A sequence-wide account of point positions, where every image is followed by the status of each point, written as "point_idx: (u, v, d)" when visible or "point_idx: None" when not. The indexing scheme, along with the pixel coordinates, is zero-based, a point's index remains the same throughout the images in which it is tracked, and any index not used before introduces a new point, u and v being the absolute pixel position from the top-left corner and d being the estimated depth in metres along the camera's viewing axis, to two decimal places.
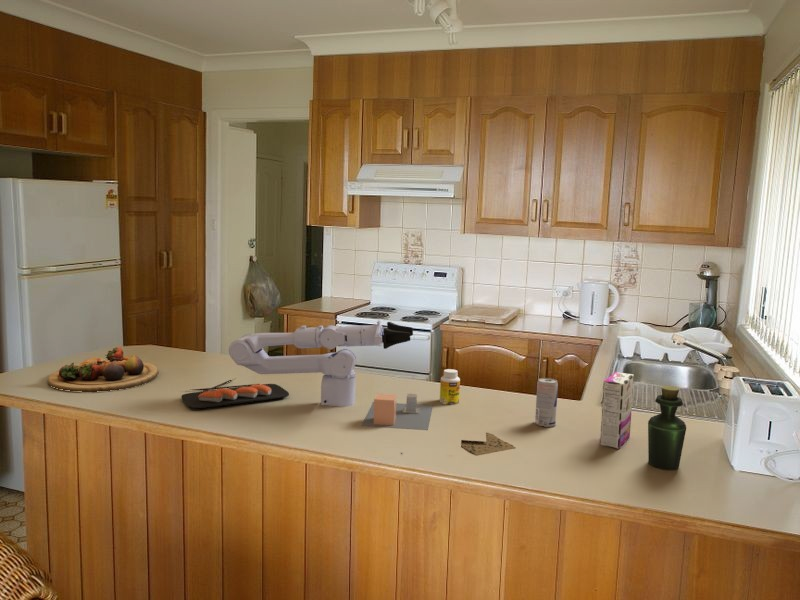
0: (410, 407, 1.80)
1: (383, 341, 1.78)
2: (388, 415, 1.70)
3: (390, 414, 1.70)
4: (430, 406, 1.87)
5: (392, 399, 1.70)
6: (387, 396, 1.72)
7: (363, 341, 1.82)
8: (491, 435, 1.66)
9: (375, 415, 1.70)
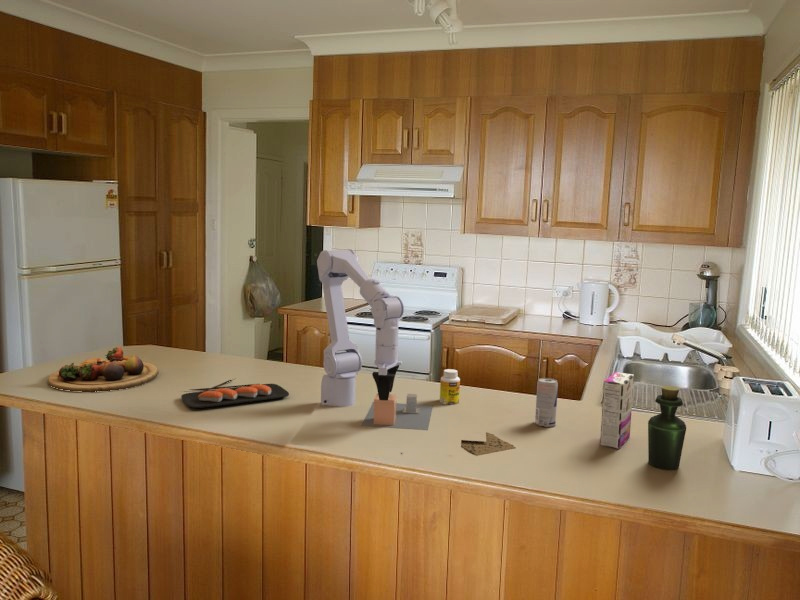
0: (410, 407, 1.80)
1: (380, 375, 1.65)
2: (388, 415, 1.70)
3: (390, 414, 1.70)
4: (430, 406, 1.87)
5: (392, 399, 1.70)
6: None
7: (381, 348, 1.67)
8: (491, 435, 1.66)
9: (375, 415, 1.70)
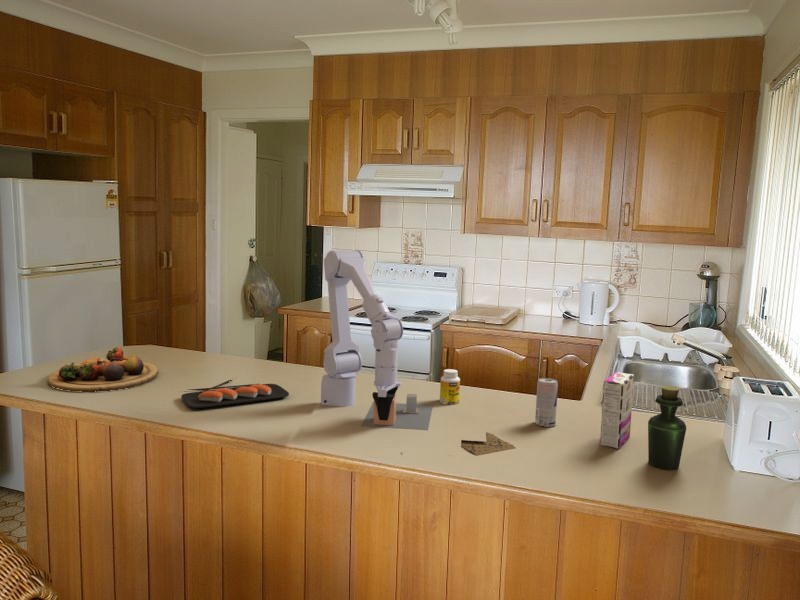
0: (410, 407, 1.80)
1: None
2: None
3: (390, 414, 1.70)
4: (430, 406, 1.87)
5: None
6: None
7: (380, 369, 1.68)
8: (491, 435, 1.66)
9: (375, 415, 1.70)
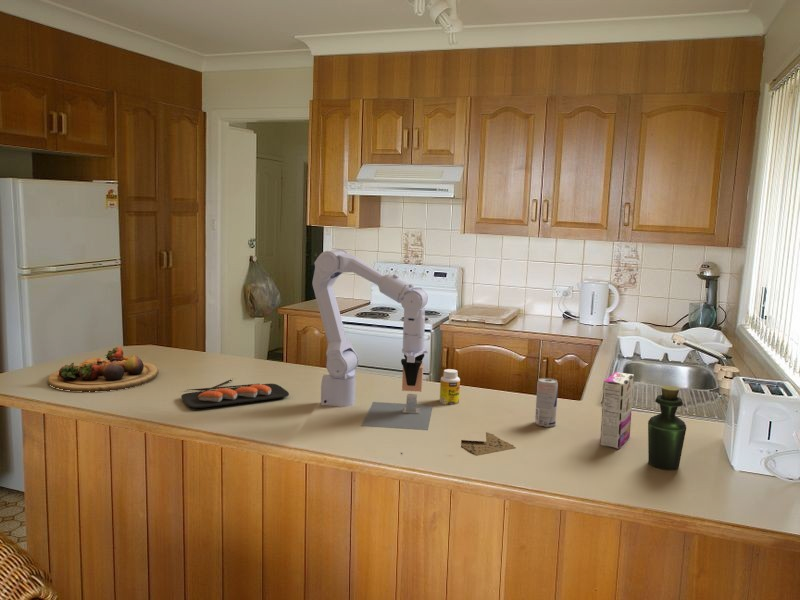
0: (410, 407, 1.80)
1: (409, 361, 1.75)
2: (416, 382, 1.78)
3: (418, 381, 1.78)
4: (430, 406, 1.87)
5: (420, 366, 1.78)
6: None
7: (408, 337, 1.76)
8: (491, 435, 1.66)
9: (404, 382, 1.78)
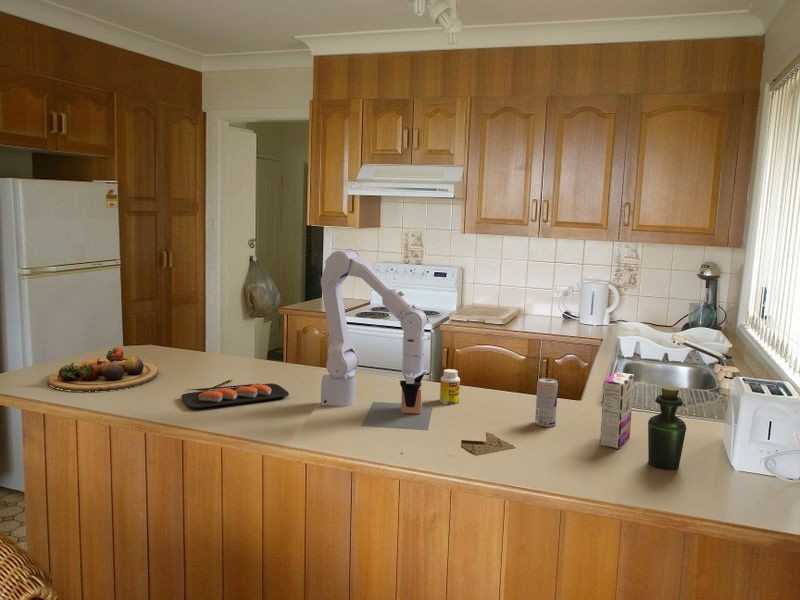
0: None
1: None
2: (415, 404, 1.79)
3: (417, 403, 1.79)
4: (430, 406, 1.87)
5: (419, 389, 1.79)
6: None
7: (408, 358, 1.77)
8: (491, 435, 1.66)
9: (403, 404, 1.79)
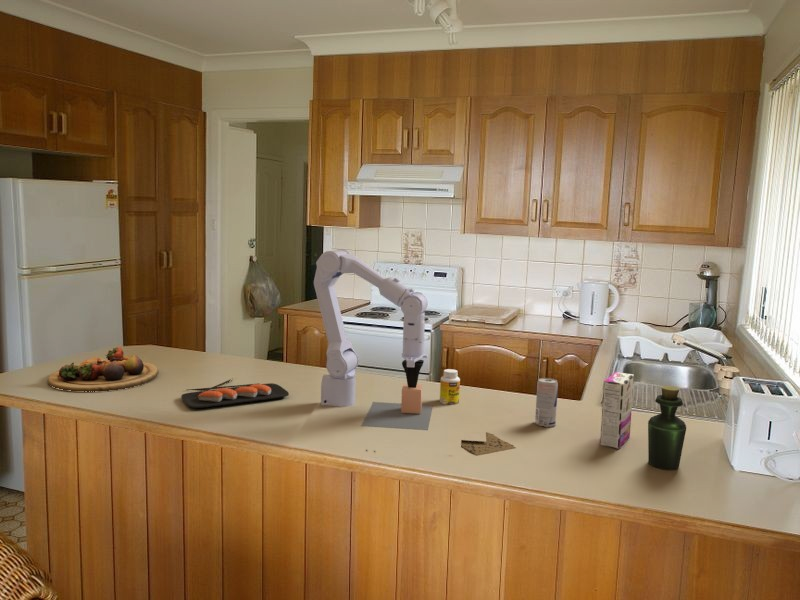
0: None
1: None
2: (415, 404, 1.79)
3: (417, 403, 1.79)
4: (430, 406, 1.87)
5: (419, 389, 1.79)
6: None
7: (408, 341, 1.77)
8: (491, 435, 1.66)
9: (403, 404, 1.79)
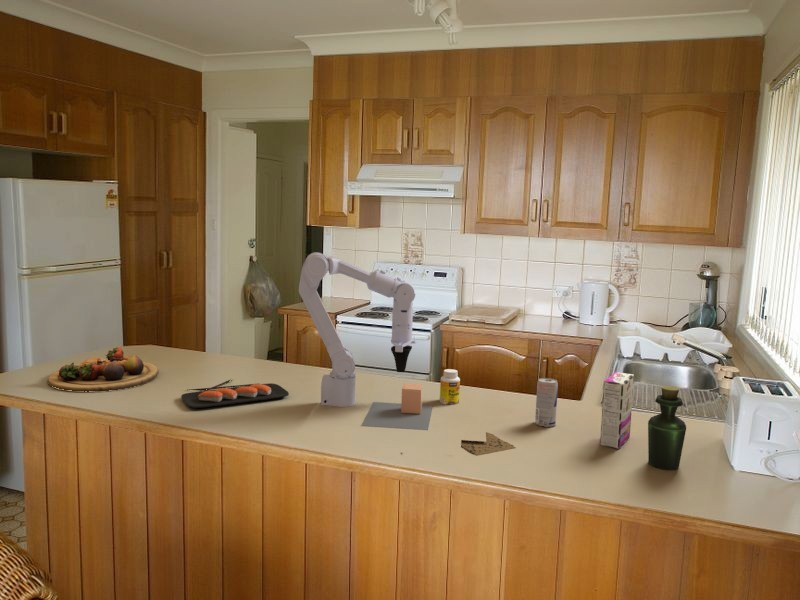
0: None
1: None
2: (415, 404, 1.79)
3: (417, 403, 1.79)
4: (430, 406, 1.87)
5: (419, 389, 1.79)
6: (414, 386, 1.81)
7: (397, 327, 1.85)
8: (491, 435, 1.66)
9: (403, 404, 1.79)
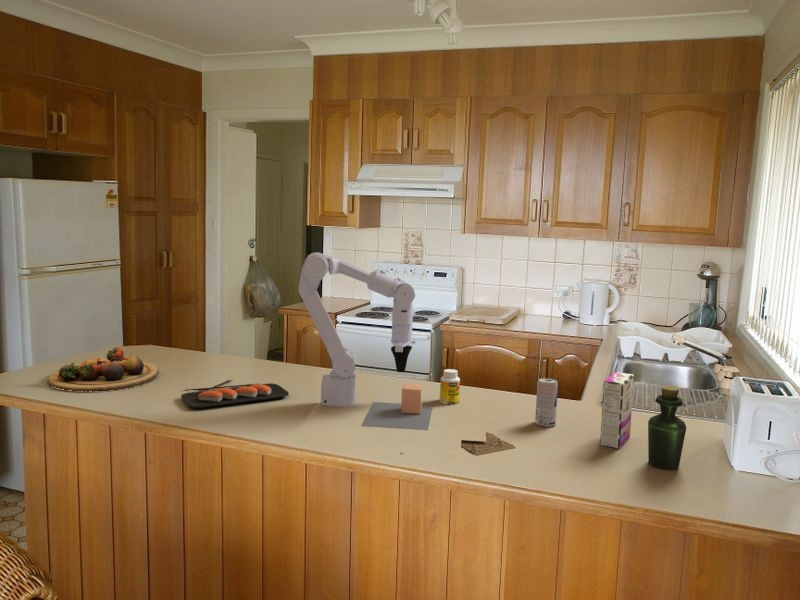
0: None
1: None
2: (415, 404, 1.79)
3: (417, 403, 1.79)
4: (430, 406, 1.87)
5: (419, 389, 1.79)
6: (414, 386, 1.81)
7: (397, 327, 1.85)
8: (491, 435, 1.66)
9: (403, 404, 1.79)
